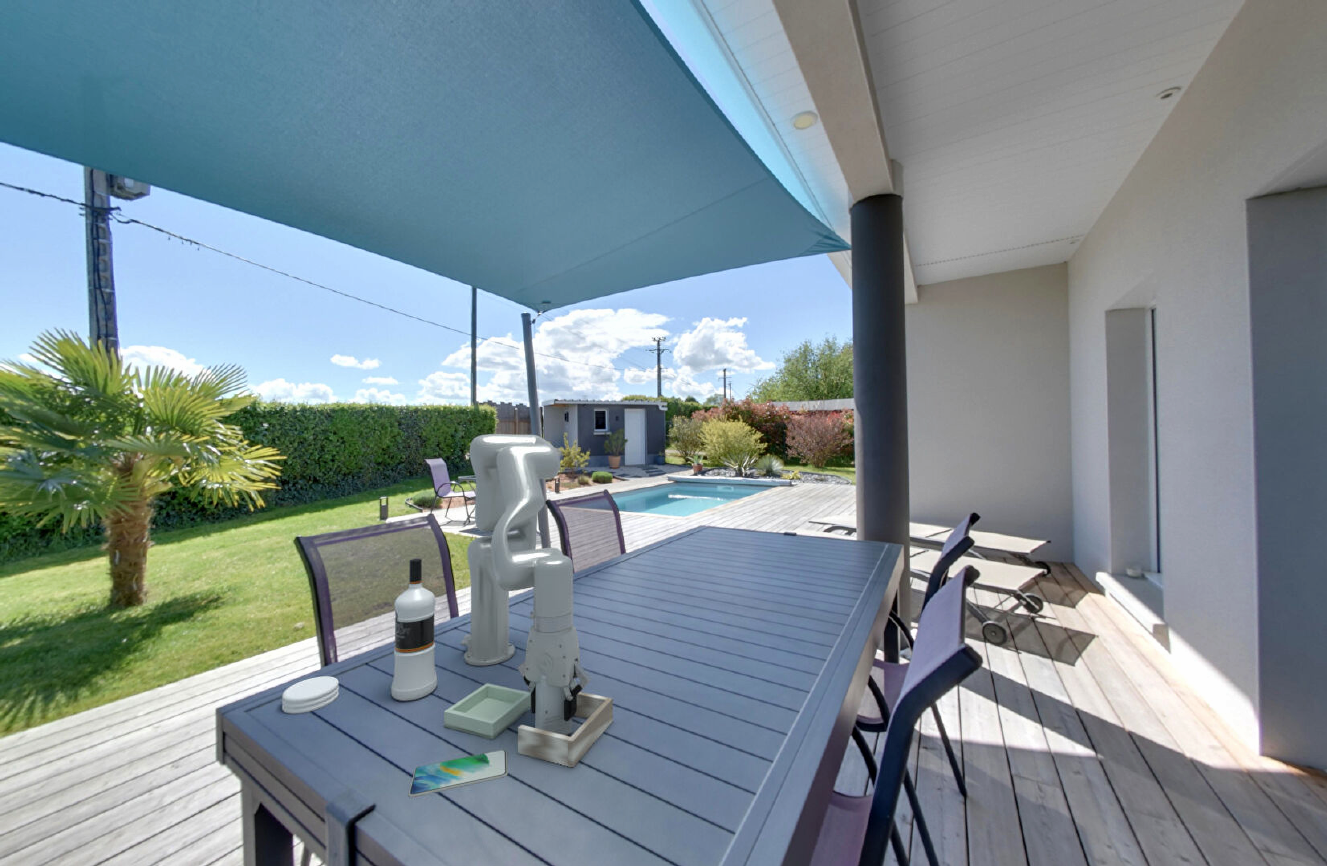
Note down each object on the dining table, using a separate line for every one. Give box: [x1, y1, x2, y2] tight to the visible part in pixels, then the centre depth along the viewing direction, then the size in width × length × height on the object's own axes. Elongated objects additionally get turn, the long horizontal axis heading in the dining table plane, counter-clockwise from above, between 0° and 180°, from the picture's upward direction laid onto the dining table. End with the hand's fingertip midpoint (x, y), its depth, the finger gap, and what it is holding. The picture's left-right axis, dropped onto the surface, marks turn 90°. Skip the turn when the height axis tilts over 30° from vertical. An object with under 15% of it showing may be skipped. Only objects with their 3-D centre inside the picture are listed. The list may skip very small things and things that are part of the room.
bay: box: [517, 691, 614, 768], centre depth 92 cm, size 12×15×4 cm
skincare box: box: [534, 676, 572, 736], centre depth 93 cm, size 6×4×12 cm
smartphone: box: [408, 749, 508, 799], centre depth 82 cm, size 7×1×15 cm
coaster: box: [281, 675, 340, 715], centre depth 105 cm, size 10×10×4 cm
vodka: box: [390, 557, 438, 702], centre depth 109 cm, size 9×9×30 cm
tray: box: [443, 682, 531, 741], centre depth 99 cm, size 12×12×3 cm
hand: (553, 713), depth 93 cm, fingers closed on skincare box, 6 cm apart
